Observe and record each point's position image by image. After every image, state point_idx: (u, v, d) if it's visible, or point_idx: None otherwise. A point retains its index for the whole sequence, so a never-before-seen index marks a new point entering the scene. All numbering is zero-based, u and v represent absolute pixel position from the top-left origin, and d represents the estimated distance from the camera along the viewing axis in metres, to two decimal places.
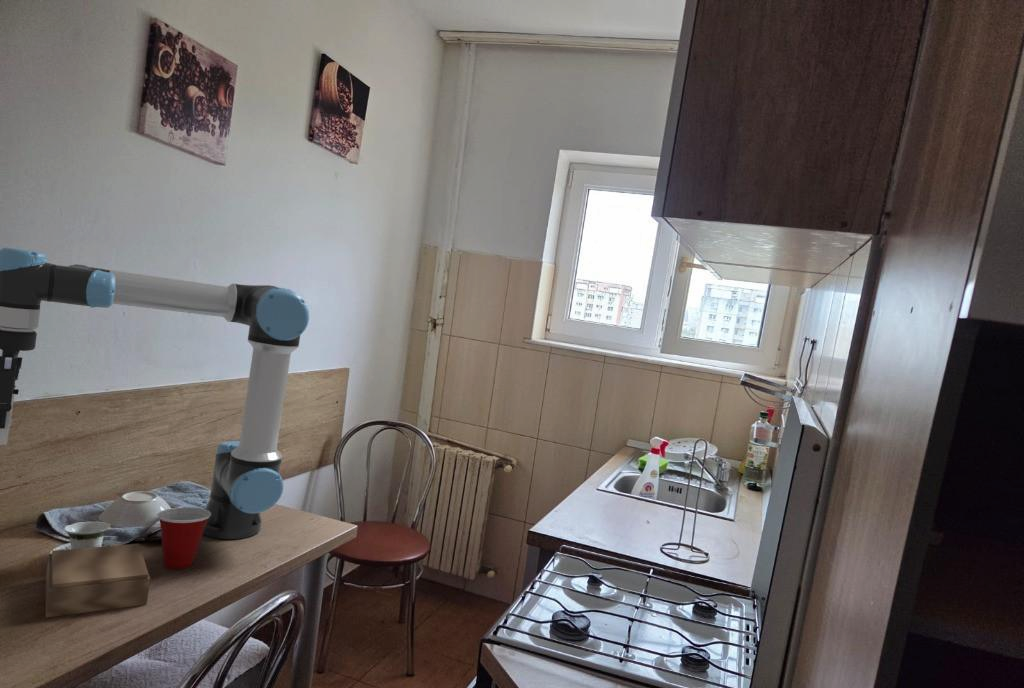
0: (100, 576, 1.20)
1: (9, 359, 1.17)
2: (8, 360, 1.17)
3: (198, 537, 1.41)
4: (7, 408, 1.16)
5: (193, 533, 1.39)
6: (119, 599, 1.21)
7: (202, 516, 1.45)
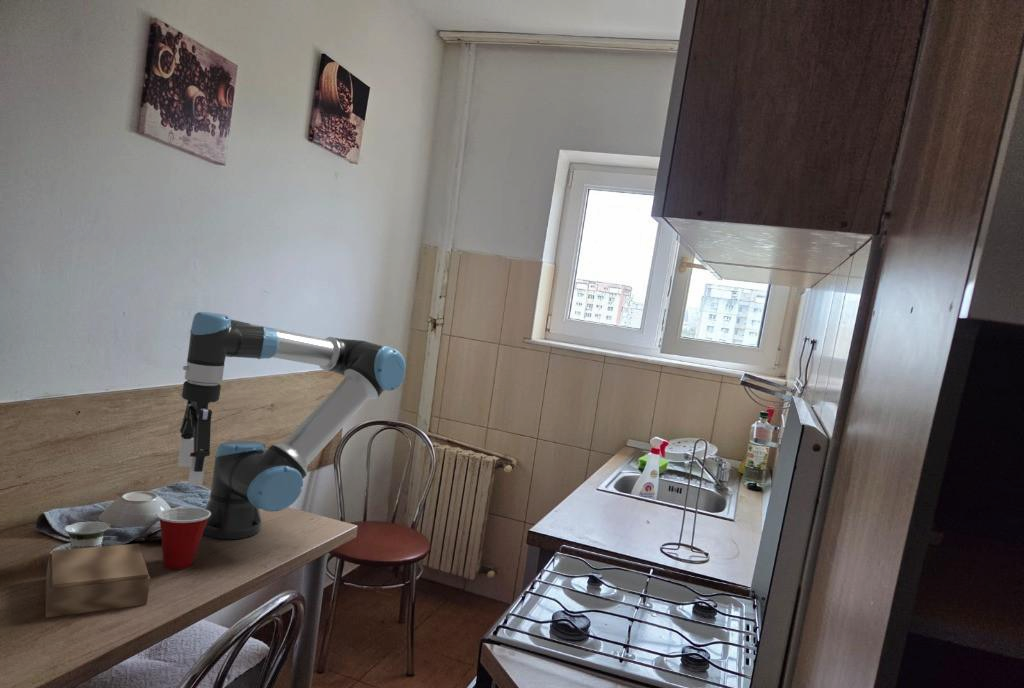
0: (100, 576, 1.20)
1: (206, 411, 1.35)
2: (205, 411, 1.34)
3: (198, 537, 1.41)
4: (207, 454, 1.33)
5: (193, 533, 1.39)
6: (119, 599, 1.21)
7: (202, 516, 1.45)
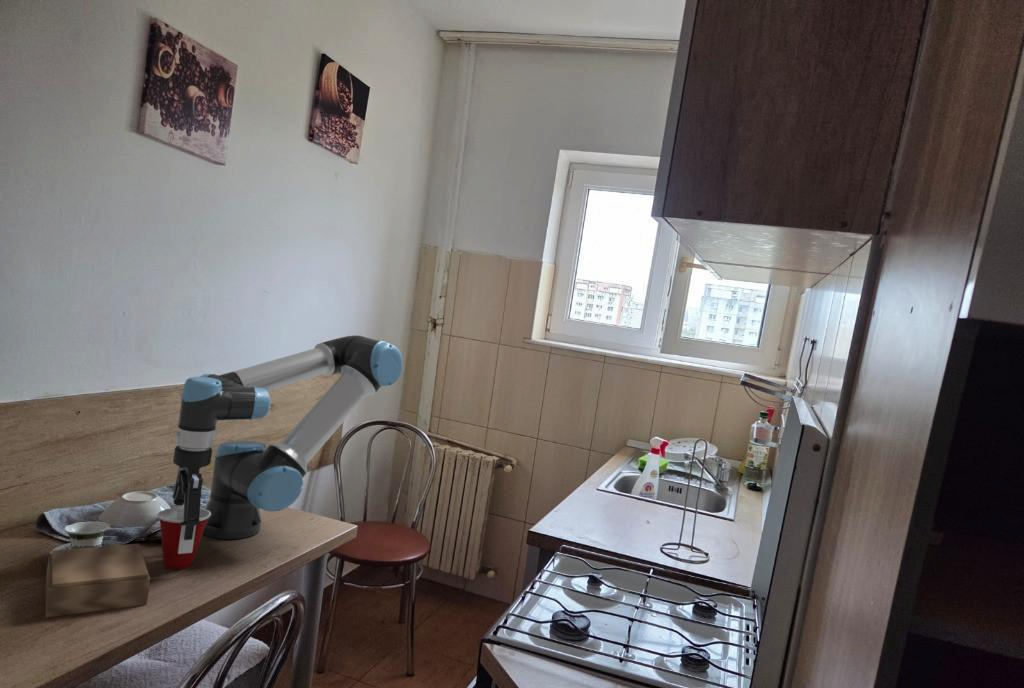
0: (100, 576, 1.20)
1: (197, 480, 1.35)
2: (196, 480, 1.35)
3: (198, 537, 1.41)
4: (196, 523, 1.35)
5: None
6: (119, 599, 1.21)
7: (202, 516, 1.45)
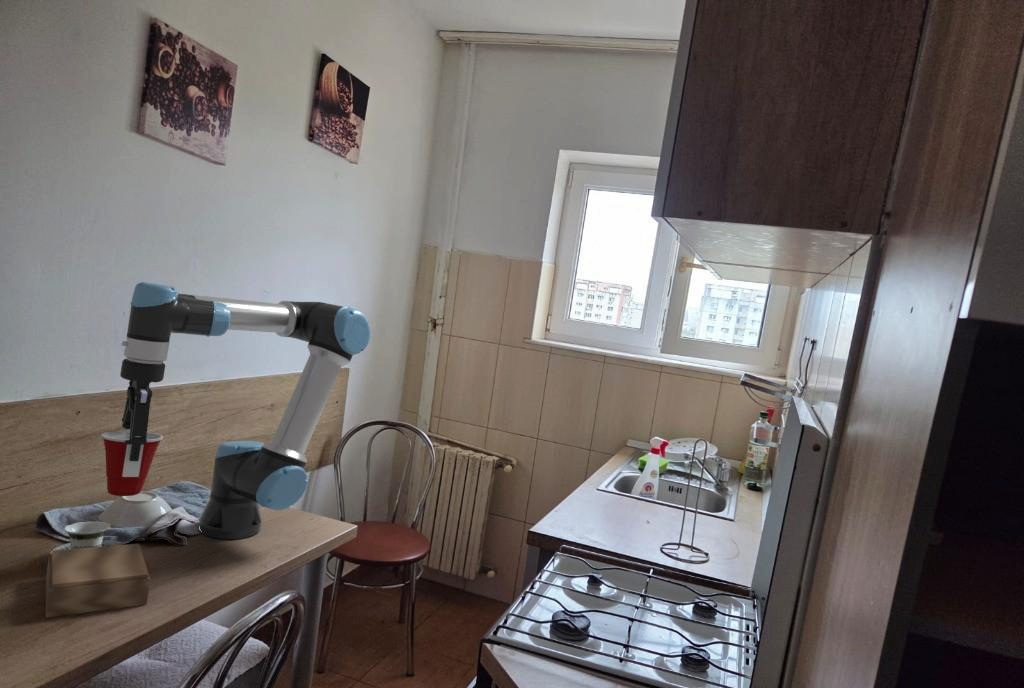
0: (100, 576, 1.20)
1: (145, 394, 1.21)
2: (144, 394, 1.21)
3: (147, 461, 1.26)
4: (143, 442, 1.20)
5: None
6: (119, 599, 1.21)
7: None
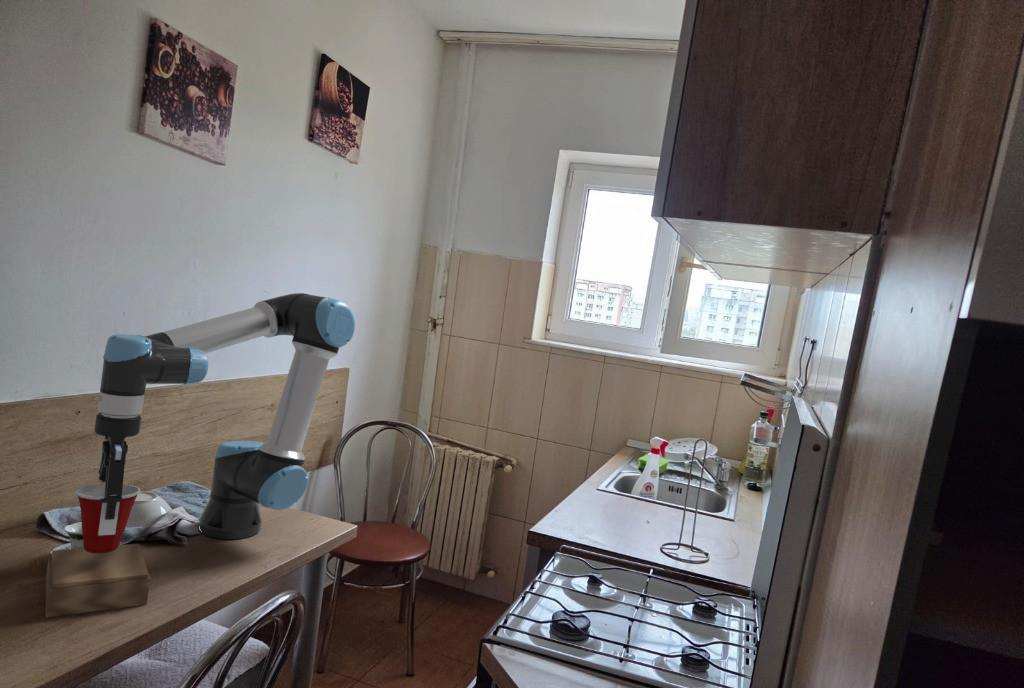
0: (100, 576, 1.20)
1: (119, 451, 1.18)
2: (119, 451, 1.18)
3: (124, 517, 1.23)
4: (118, 500, 1.17)
5: None
6: (119, 599, 1.21)
7: (131, 494, 1.28)
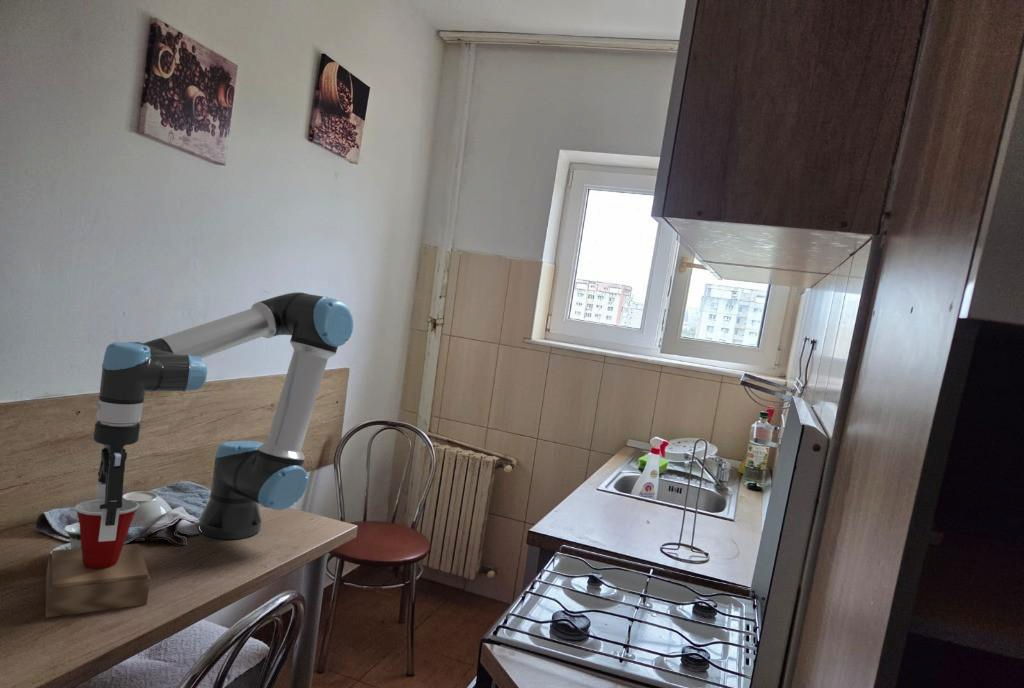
0: (100, 576, 1.20)
1: (119, 456, 1.18)
2: (118, 457, 1.18)
3: (123, 532, 1.24)
4: (118, 506, 1.16)
5: None
6: (119, 599, 1.21)
7: (130, 508, 1.28)
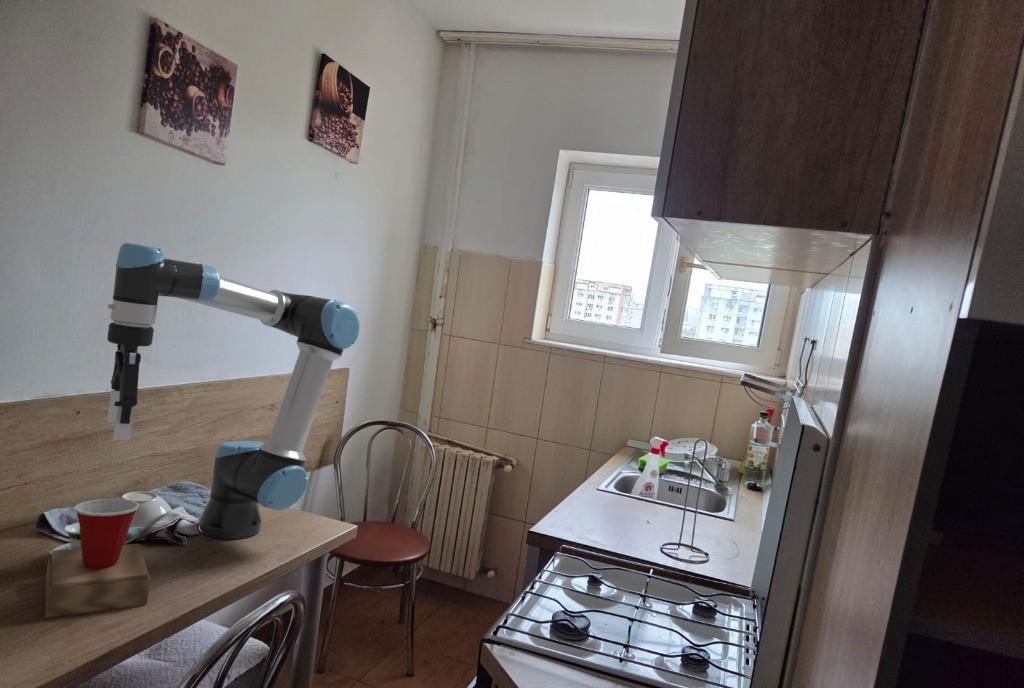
0: (100, 576, 1.20)
1: (133, 354, 1.18)
2: (133, 355, 1.17)
3: (123, 532, 1.24)
4: (133, 403, 1.16)
5: (116, 528, 1.22)
6: (119, 599, 1.21)
7: (130, 509, 1.28)
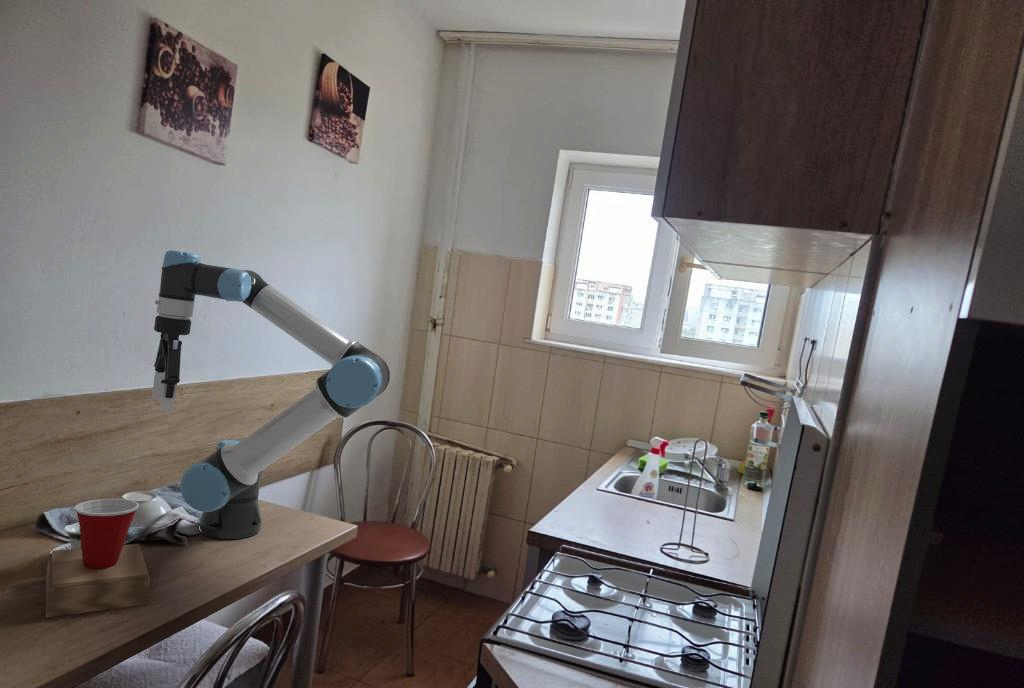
0: (100, 576, 1.20)
1: (176, 341, 1.44)
2: (176, 342, 1.44)
3: (123, 532, 1.24)
4: (177, 381, 1.42)
5: (116, 528, 1.22)
6: (119, 599, 1.21)
7: (130, 509, 1.28)
